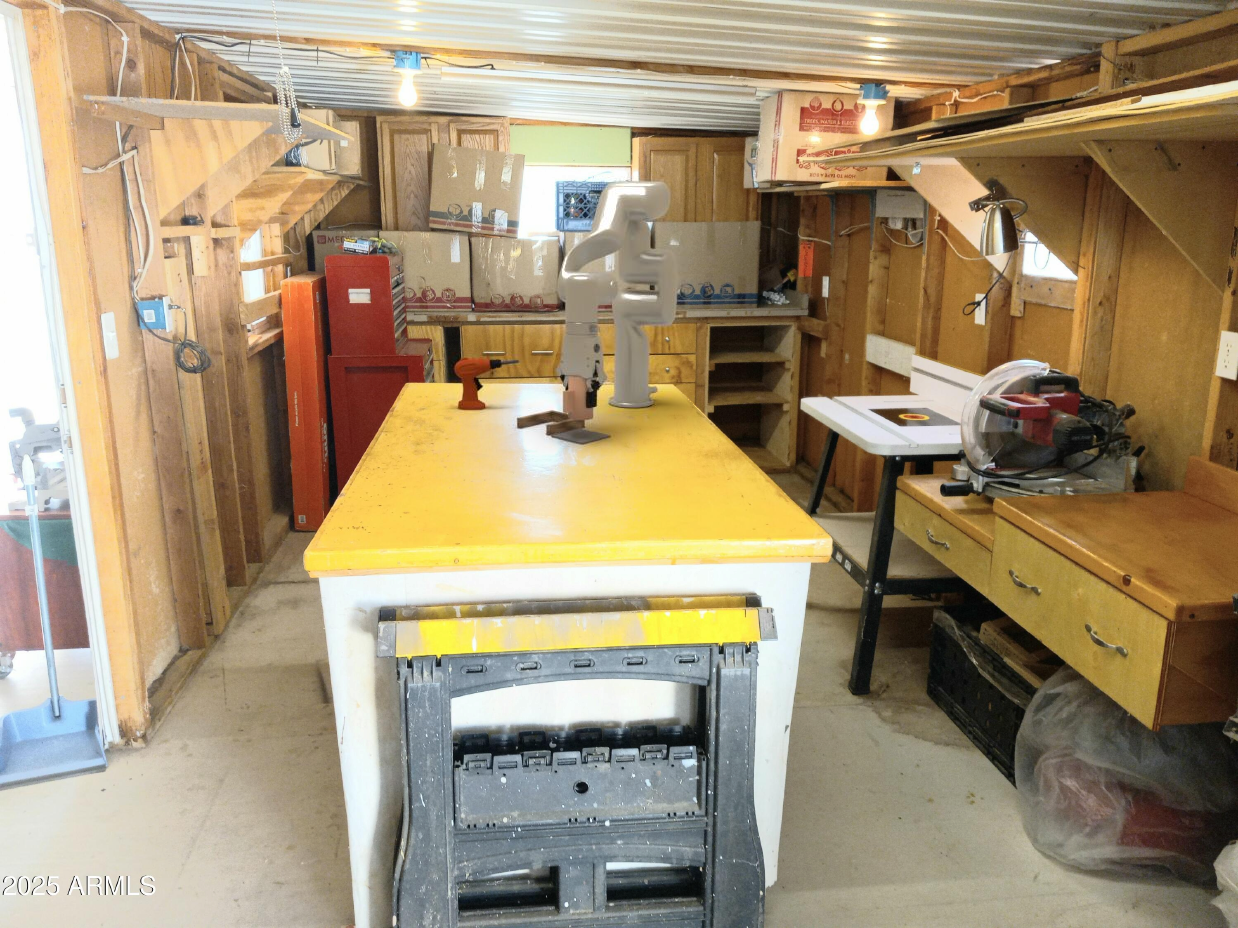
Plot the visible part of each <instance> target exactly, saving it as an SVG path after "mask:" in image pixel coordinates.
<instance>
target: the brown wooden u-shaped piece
mask: <svg viewBox="0 0 1238 928" xmlns="http://www.w3.org/2000/svg"><path fill="white" fill-rule="evenodd" d="M585 421H586V420H573V419H569V418H568V413H564V412H563V411H557V410H553V409H552V410H548V411H542V412H538V413H533V414H529V415H525V416H520V417H516V428H517V429H519V430H520V429H524V428H529V427H533V426H537V425H542V424H546V423H547V424H546V425H545V426H546V427H545V428H546V430H545V431H546V432H545V434H546V436H551V435H555V434H559V433H563V432H567V431H572V430H576V429H583V428H585V425H586V424H585V423H586V422H585ZM550 422H552V423H550Z"/></svg>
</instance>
